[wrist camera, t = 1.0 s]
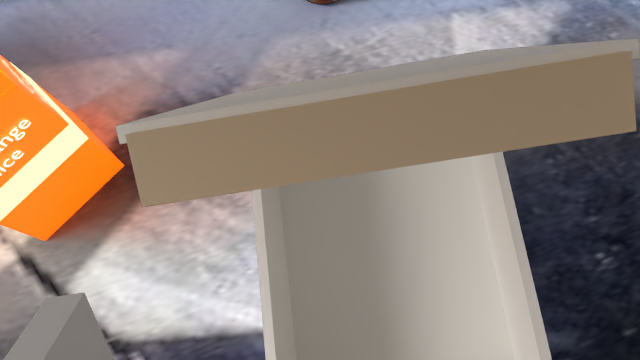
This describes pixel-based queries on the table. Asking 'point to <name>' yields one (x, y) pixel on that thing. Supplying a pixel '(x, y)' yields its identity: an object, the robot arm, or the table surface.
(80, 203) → the orange juice
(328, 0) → the sauce bottle
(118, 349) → the table surface
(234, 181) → the mailer lid
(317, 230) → the box
